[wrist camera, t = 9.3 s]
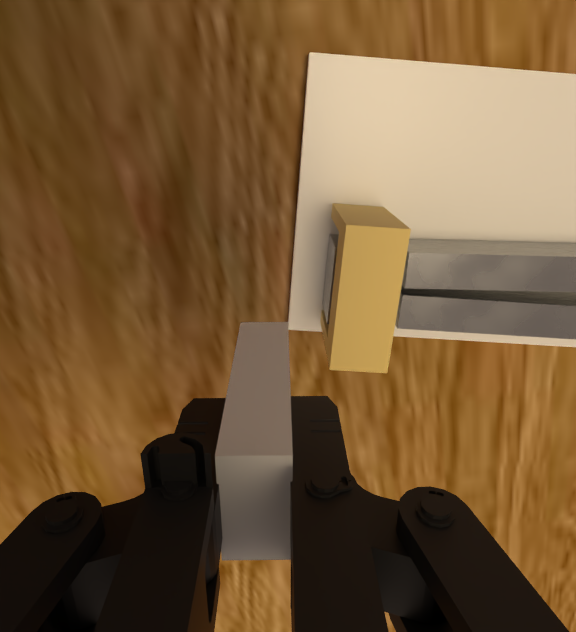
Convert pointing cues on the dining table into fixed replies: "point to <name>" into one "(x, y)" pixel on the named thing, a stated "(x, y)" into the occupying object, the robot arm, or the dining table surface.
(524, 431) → the dining table surface
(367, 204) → the board
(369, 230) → the tan boxy piece
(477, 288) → the tongs jaw
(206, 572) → the robot arm
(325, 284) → the tongs fixed
